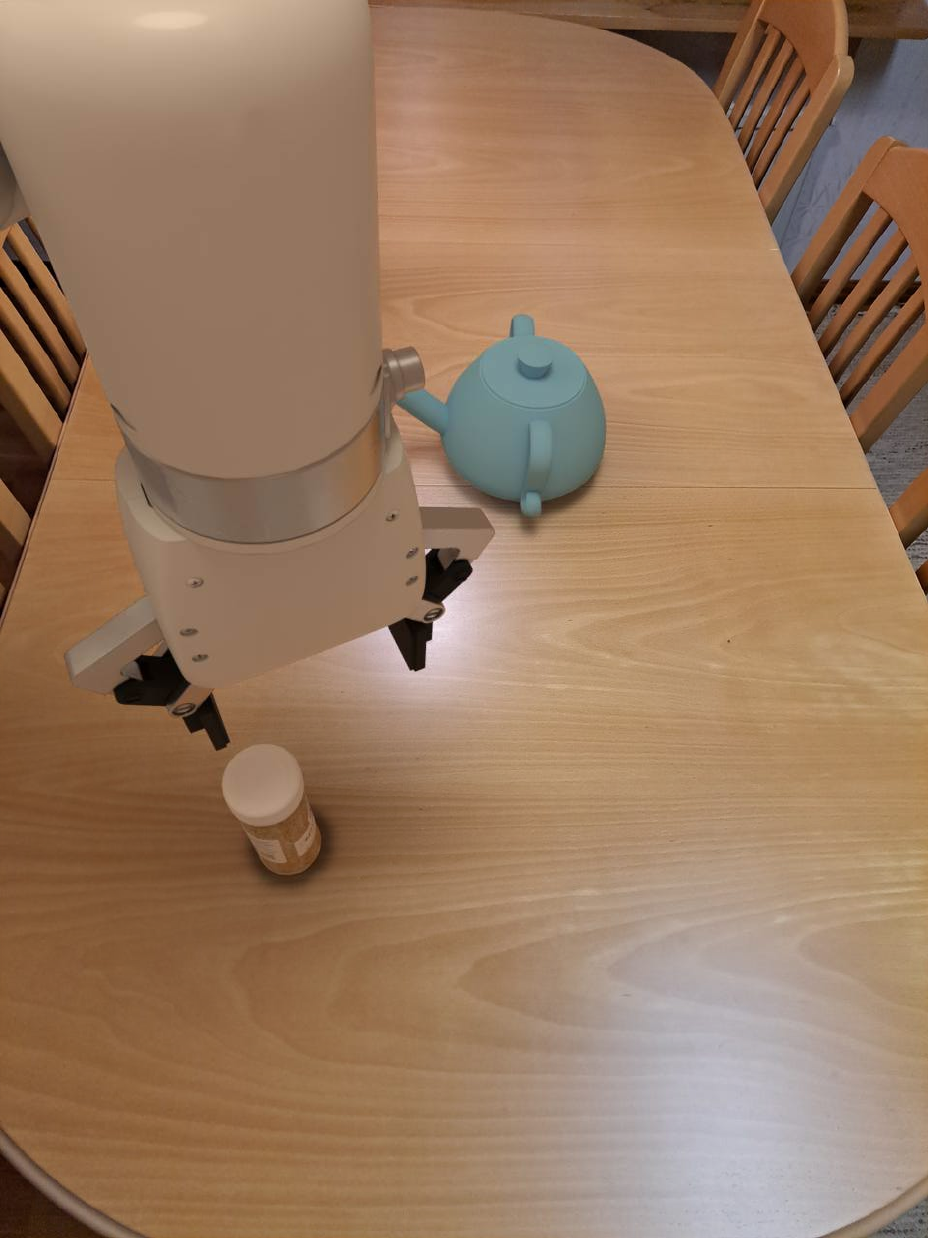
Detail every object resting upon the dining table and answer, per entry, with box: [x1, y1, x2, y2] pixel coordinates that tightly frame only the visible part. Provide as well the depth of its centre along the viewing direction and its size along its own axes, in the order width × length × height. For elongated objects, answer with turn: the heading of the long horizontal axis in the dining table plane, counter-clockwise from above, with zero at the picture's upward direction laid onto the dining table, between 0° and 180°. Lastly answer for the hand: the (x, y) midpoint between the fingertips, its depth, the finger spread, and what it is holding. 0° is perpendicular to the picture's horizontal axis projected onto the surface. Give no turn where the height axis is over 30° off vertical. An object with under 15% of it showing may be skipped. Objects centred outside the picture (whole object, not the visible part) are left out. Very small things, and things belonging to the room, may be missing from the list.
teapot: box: [395, 313, 607, 518], centre depth 74 cm, size 20×20×13 cm
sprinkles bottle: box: [221, 743, 322, 876], centre depth 53 cm, size 5×5×14 cm
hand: (312, 683), depth 39 cm, fingers open, 9 cm apart
